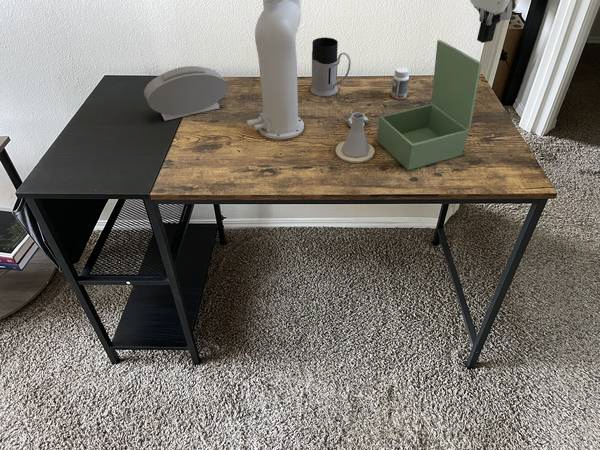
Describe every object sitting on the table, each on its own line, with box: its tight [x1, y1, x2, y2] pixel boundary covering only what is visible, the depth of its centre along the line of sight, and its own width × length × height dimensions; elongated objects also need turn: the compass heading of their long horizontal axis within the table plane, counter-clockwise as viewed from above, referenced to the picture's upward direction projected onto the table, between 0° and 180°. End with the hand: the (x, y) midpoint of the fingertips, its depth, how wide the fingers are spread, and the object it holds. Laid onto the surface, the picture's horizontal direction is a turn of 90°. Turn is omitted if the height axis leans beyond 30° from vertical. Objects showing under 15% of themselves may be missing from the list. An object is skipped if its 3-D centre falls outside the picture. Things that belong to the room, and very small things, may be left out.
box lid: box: [430, 39, 482, 130], centre depth 109 cm, size 17×15×1 cm
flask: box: [342, 111, 369, 157], centre depth 113 cm, size 7×7×10 cm
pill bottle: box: [390, 66, 410, 100], centre depth 137 cm, size 5×5×8 cm
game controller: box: [339, 109, 369, 129], centre depth 128 cm, size 6×12×3 cm, turn 49°
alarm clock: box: [143, 65, 229, 121], centre depth 131 cm, size 23×6×13 cm, turn 115°
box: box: [376, 103, 469, 171], centre depth 116 cm, size 16×15×7 cm
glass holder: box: [310, 36, 352, 97], centre depth 137 cm, size 9×14×15 cm, turn 46°
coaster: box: [335, 140, 376, 164], centre depth 117 cm, size 10×10×1 cm
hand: (484, 40), depth 105 cm, fingers closed
